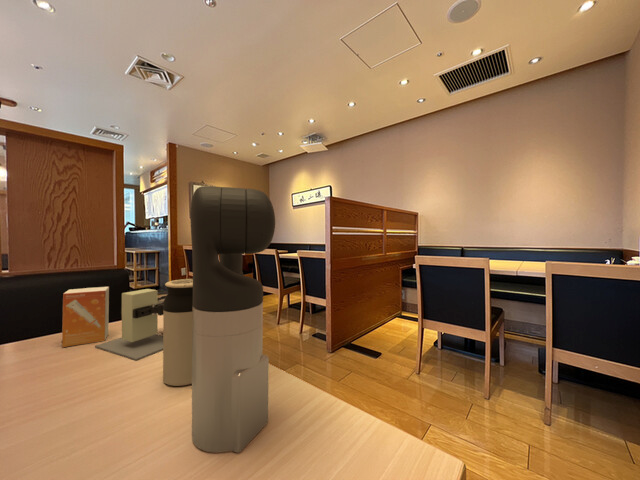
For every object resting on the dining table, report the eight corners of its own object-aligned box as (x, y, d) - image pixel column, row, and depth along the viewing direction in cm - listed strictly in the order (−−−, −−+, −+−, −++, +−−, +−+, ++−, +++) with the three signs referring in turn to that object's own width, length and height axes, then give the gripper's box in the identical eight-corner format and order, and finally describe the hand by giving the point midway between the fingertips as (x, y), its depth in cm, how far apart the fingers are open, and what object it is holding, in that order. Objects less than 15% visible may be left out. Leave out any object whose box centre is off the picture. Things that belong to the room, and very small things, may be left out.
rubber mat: (182, 342, 65) (182, 340, 65) (136, 360, 55) (136, 358, 55) (142, 332, 72) (142, 330, 72) (94, 347, 62) (94, 345, 62)
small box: (61, 348, 61) (61, 293, 61) (68, 339, 67) (68, 288, 67) (105, 341, 66) (106, 289, 66) (109, 333, 71) (109, 286, 71)
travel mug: (154, 379, 48) (154, 282, 48) (193, 362, 55) (194, 277, 55) (179, 392, 44) (180, 286, 44) (218, 372, 51) (219, 280, 51)
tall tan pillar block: (157, 333, 66) (157, 290, 66) (132, 342, 60) (132, 294, 60) (147, 331, 67) (147, 288, 67) (121, 339, 62) (121, 293, 62)
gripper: (174, 283, 80) (110, 294, 64) (208, 287, 74) (146, 300, 58) (174, 307, 80) (110, 324, 64) (208, 313, 74) (146, 333, 58)
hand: (128, 312), depth 61 cm, fingers closed on tall tan pillar block, 4 cm apart
